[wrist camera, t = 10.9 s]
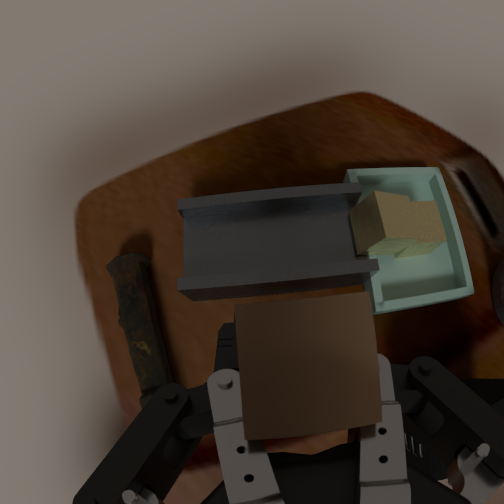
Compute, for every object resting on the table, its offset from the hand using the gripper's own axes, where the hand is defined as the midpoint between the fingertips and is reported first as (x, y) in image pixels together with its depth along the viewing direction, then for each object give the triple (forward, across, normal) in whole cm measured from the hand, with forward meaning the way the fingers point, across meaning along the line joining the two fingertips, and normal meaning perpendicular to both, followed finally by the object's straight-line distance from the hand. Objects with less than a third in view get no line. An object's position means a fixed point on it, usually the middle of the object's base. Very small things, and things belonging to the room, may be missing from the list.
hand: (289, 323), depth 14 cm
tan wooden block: (+2, 0, +5) cm, 6 cm away
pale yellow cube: (+14, -9, +2) cm, 16 cm away
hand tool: (+10, +11, +11) cm, 18 cm away
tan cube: (+14, -12, +2) cm, 18 cm away
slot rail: (+16, 0, +4) cm, 16 cm away
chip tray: (+15, -14, +4) cm, 21 cm away
